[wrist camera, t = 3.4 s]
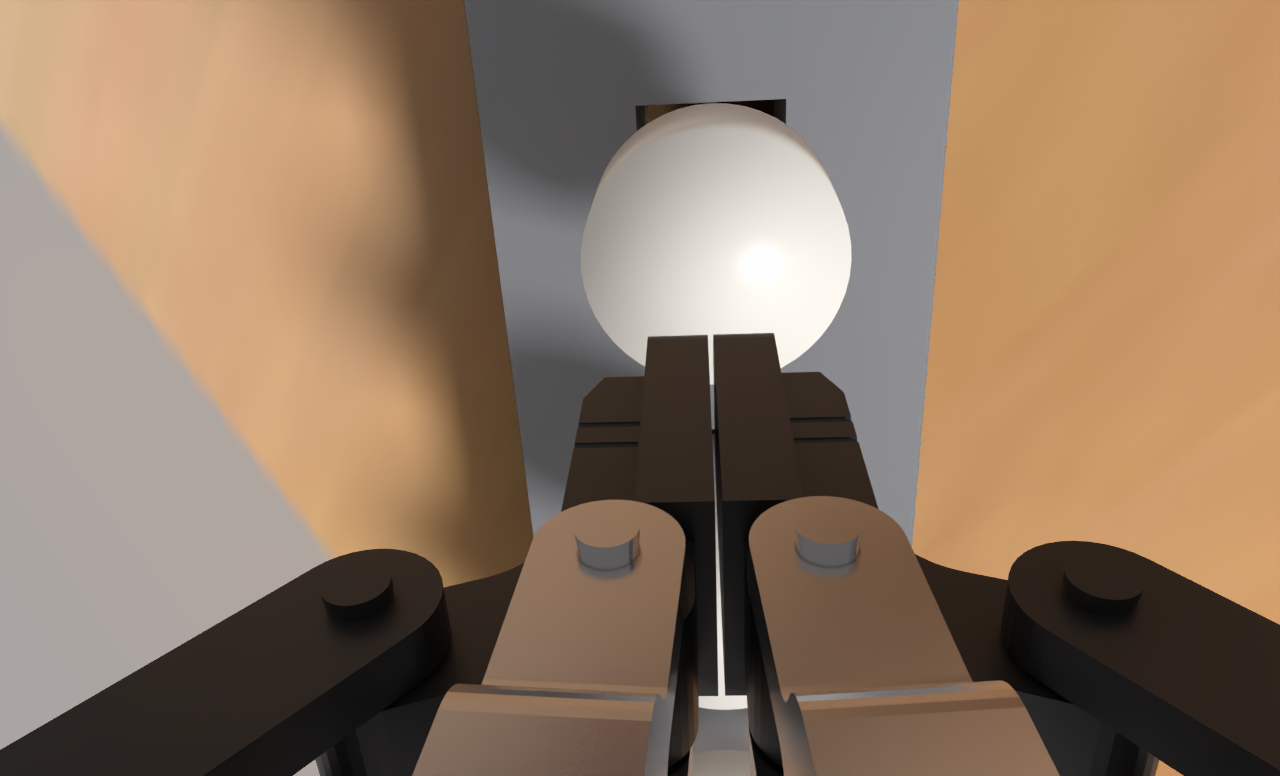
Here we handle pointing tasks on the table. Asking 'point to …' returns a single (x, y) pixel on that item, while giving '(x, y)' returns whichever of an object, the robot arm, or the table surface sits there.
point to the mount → (700, 73)
